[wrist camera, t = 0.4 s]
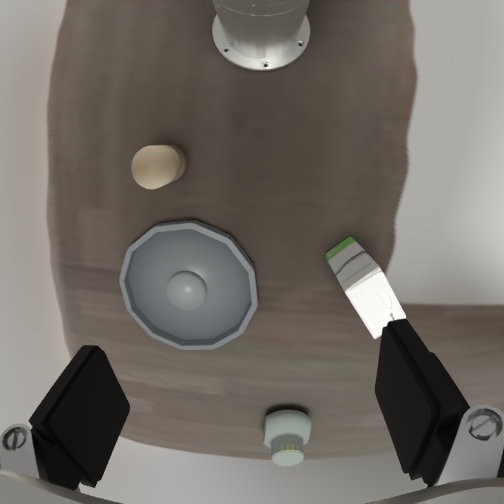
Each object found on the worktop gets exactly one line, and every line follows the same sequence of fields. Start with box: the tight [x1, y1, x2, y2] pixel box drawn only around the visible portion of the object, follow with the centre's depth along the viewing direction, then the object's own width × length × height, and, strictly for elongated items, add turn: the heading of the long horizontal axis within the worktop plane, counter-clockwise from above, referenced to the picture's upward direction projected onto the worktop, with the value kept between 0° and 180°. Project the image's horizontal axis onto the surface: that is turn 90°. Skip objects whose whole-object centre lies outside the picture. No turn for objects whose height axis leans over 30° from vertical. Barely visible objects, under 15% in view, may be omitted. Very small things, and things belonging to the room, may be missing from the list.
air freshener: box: [263, 410, 311, 466], centre depth 50 cm, size 11×8×10 cm
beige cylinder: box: [131, 145, 187, 189], centre depth 36 cm, size 5×5×7 cm
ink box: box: [325, 236, 406, 339], centre depth 38 cm, size 9×5×12 cm, turn 37°
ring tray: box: [119, 220, 258, 350], centre depth 44 cm, size 20×20×2 cm
